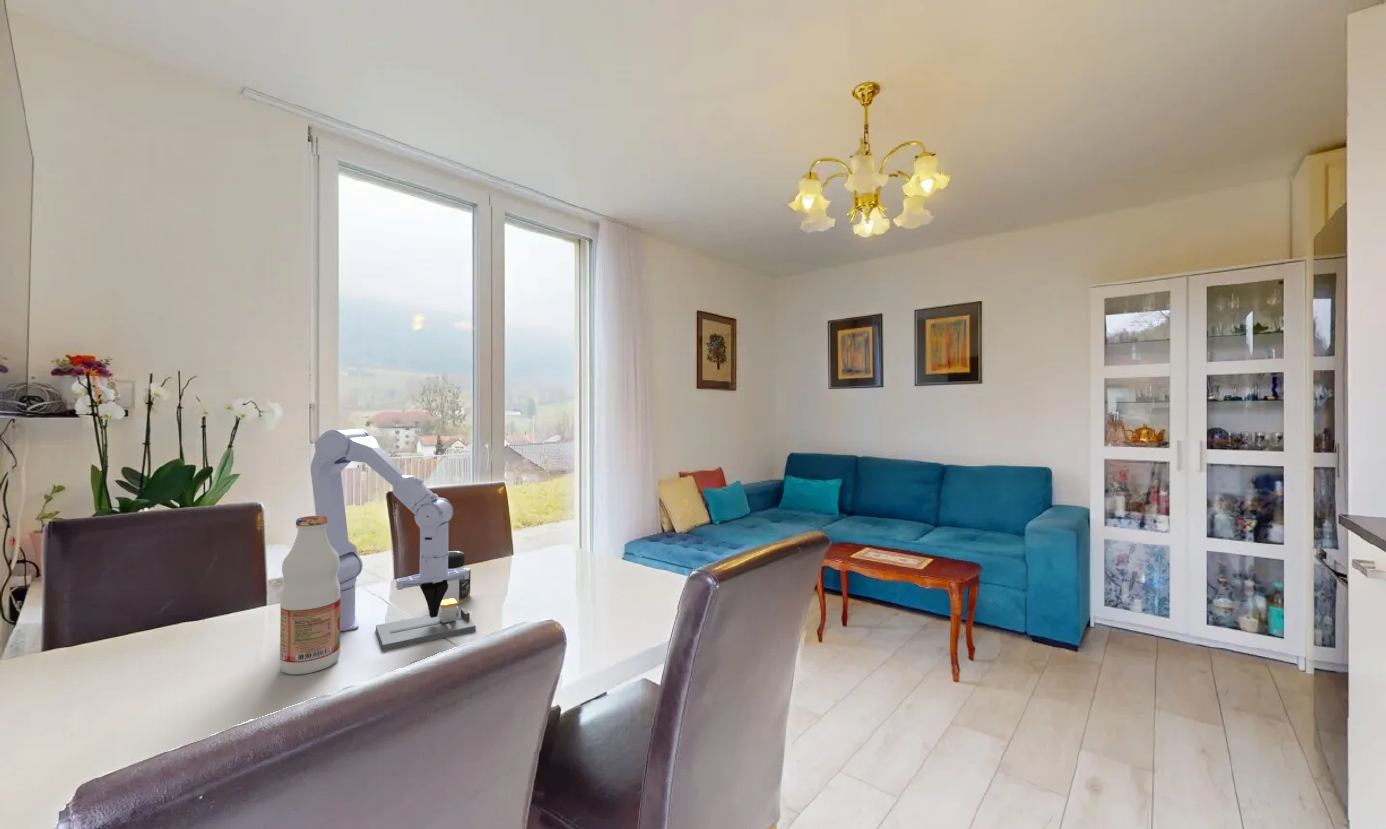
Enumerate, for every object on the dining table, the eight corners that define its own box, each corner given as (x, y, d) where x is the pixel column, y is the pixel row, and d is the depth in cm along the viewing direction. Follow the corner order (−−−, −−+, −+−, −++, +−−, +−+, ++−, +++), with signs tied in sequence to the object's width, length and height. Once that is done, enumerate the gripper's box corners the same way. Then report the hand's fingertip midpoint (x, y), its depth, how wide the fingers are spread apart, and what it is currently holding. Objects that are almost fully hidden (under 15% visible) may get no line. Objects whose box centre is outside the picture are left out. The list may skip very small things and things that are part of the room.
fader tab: (441, 623, 122) (442, 605, 122) (438, 618, 125) (438, 600, 125) (457, 620, 124) (457, 602, 124) (453, 615, 127) (453, 598, 127)
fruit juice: (266, 671, 102) (268, 520, 102) (314, 650, 111) (315, 511, 111) (306, 679, 100) (308, 524, 99) (351, 656, 109) (353, 515, 108)
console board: (382, 650, 112) (383, 636, 112) (375, 630, 122) (376, 617, 121) (475, 631, 122) (475, 617, 122) (462, 614, 132) (462, 601, 132)
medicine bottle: (459, 604, 138) (460, 556, 138) (430, 604, 138) (431, 556, 138) (470, 595, 145) (471, 549, 145) (443, 594, 145) (443, 549, 145)
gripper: (400, 564, 115) (399, 629, 115) (473, 554, 124) (472, 614, 124) (395, 556, 121) (394, 618, 121) (465, 547, 129) (464, 605, 129)
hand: (433, 615), depth 123 cm, fingers closed
